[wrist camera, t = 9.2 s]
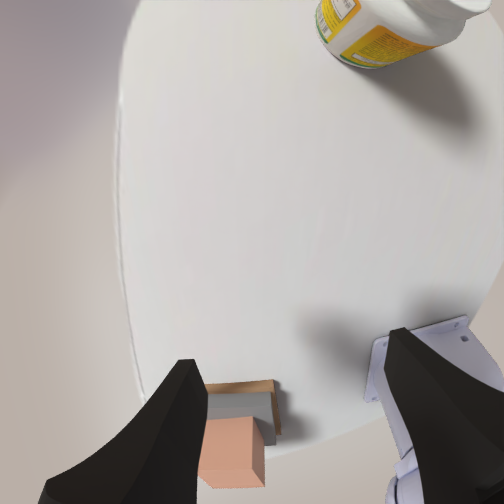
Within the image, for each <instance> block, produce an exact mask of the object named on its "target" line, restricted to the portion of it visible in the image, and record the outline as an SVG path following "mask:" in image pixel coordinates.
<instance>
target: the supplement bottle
mask: <svg viewBox="0 0 504 504" xmlns="http://www.w3.org/2000/svg"><path fill="white" fill-rule="evenodd" d="M491 4H492V0H321V1H320V3H319V5H318V7H317V9H316V12H315V17H314V22H315V29H316V32H317V35H318V37H319V39H320V40H321V42H322V43H323V45H324V46H325V47H326V48H327V49H328V50H329V51H330V52H331V53H332V54H333V55H334V56H336V57H337V58H338V59H340V60H342V61H343V62H345V63H347V64H350V65H353V66H356V67H361V68H367V69H375V68H381V67H384V66H387V65H389V64H392V63H394V62H397V61H399V60H402V59H404V58H407V57H410V56H412V55H415V54H418V53H420V52H423V51H426V50H429V49H432V48H435V47H438V46H441V45H444V44H447V43H449V42H451V41H453V40H455V39H456V38H457V37H458V36H459V35H460V34H461V32H462V31H463V28H464V26H465V22H466V20H467V19H470V18H472V17H473V16H476V15H479V14H481V13H484V12H485V11H487V10H488V9H489V8H490V6H491Z"/></svg>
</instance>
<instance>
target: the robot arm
mask: <svg viewBox="0 0 504 504" xmlns="http://www.w3.org/2000/svg"><path fill="white" fill-rule="evenodd" d="M468 321H469V318H468V317H467V316H466V315H464V316H461V317H457V318H454V319H451V320H448V321H444V322H441V323H437V324H434V325H430V326H426V327H423V328H419V329H415V330H411V331H409V330H407V329H406V328H405V327H404V328H400V329H396V330H391V331H390V334H389V336H386V337H381V338H378V339H376V340H375V341H374V342H373V347H372V354H371V361H370V367H369V373H368V379H367V384H366V389H365V395H364V401H365V402H367V403H368V402H373V401H377V400H381V403H382V406H383V409H384V411H385V414H386V417H387V419H388V422H389V425H390V428H391V431H392V433H393V436H394V439H395V442H396V446H397V448H398V451H399V455H400V458H401V461H399V462H398V463H396V464H395V465H394V468H395V471H396V476H395V477H393V478H392V479H391V481H390V483H389V485H388V489H387V493H386V499H385V504H504V379H503V375H502V372H501V370H500V368H499V366H498V365H497V363H496V362H495V361H494V359H493V358H492V357H491V355H490V354H489V353H488V352H487V350H486V349H485V348H484V346H482V344H481V343H480V341H479V340H478V339H477V338H476V337H475V335H474V334H473V333H472V332H471V330H470V329H469V328H468V327H467V324H468ZM385 342H386V343H385ZM207 413H208V392H207V389H206V387H205V385H204V382H203V380H202V377H201V375H200V372H199V370H198V368H197V365H196V362H195V360H194V359H184V360H178V361H177V363H176V364H175V365H174V367H173V368H172V369H171V371H170V372H169V373H168V375H167V376H166V378H165V379H164V380H163V382H162V383H161V384H160V386H159V387H158V388H157V390H156V391H155V392H154V394H153V395H152V396H151V398H150V399H149V400H148V401H147V403H146V404H145V405H144V406H143V407H142V409H141V410H140V411H139V412H138V413H137V415H136V416H135V417H134V418H133V419H132V420H131V421H130V423H128V424H127V426H125V427H124V428H123V429H122V431H120V432H119V433H118V434H117V435H116V436H115V437H114V438H113V439H112V440H111V441H109V442H108V443H107V444H106V445H104V446H103V447H102V448H101V449H99V450H98V451H97V452H95V453H94V454H93V455H91V456H90V457H88V458H87V459H85V460H84V461H83V462H81V463H79V464H77V465H76V466H74V467H72V468H71V469H69V470H67V471H65V472H63V473H61V474H59V475H57V476H55V477H53V478H50V479H48V480H47V481H46V483H45V486H44V488H43V491H42V494H41V496H40V499H39V502H38V504H197V476H198V467H199V460H200V455H201V449H202V444H203V438H204V433H205V427H206V421H207Z"/></svg>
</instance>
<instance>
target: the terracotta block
mask: <svg viewBox="0 0 504 504" xmlns="http://www.w3.org/2000/svg"><path fill="white" fill-rule="evenodd" d="M264 466H265V465H264V439H263V437H262V435H261V433H260V431H259V429H258V427H257V424H256V422H255V420H254V418H253V416H250V417H240V418H229V419H215V420H207V421H206V427H205V433H204V438H203V444H202V449H201V455H200V460H199V467H198V476H199V477H201V478H202V479H203V480H204V481H205V482H206V483H207V484H208V485H209V486H211V487H212V488H252V487H265V467H264Z"/></svg>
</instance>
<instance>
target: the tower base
mask: <svg viewBox="0 0 504 504" xmlns="http://www.w3.org/2000/svg"><path fill="white" fill-rule="evenodd" d="M204 385H205V387H206V389H207V392H208V394H234V393H254V392H268V391H270V392H271V400H272V408H273V415H274V423H275V431H276V435H281V426H280V419H279V413H278V407H277V401H276V394H275V388H274V382H273V379H272V380H262V381H251V382H238V383H222V384H204Z"/></svg>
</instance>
